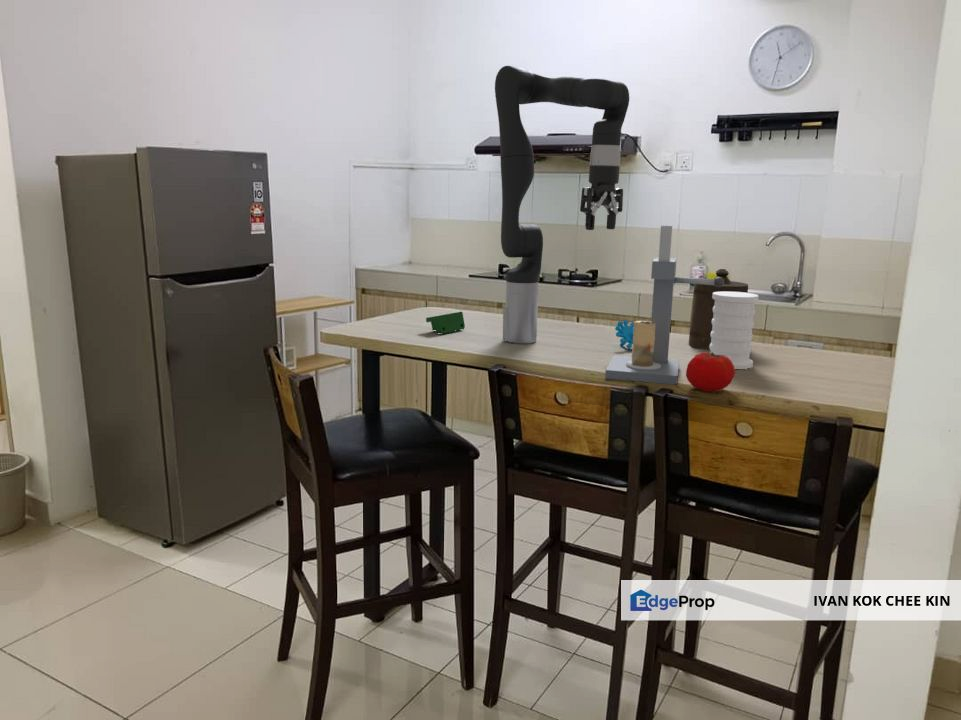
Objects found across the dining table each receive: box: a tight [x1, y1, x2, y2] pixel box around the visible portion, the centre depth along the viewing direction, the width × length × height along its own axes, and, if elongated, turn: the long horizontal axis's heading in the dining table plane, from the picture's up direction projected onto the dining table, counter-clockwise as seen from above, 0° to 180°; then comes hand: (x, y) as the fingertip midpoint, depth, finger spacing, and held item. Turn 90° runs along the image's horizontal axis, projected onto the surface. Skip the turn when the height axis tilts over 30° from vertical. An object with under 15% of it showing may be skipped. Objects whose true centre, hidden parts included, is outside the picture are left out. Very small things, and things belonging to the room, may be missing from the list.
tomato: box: [685, 350, 736, 393], centre depth 159 cm, size 9×10×8 cm
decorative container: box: [709, 291, 759, 370], centre depth 183 cm, size 12×12×18 cm
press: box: [604, 224, 724, 385], centre depth 169 cm, size 25×17×35 cm
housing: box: [631, 320, 656, 367], centre depth 171 cm, size 5×5×10 cm
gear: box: [614, 319, 635, 350], centre depth 204 cm, size 11×6×10 cm
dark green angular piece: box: [425, 311, 466, 334], centre depth 223 cm, size 12×6×9 cm, turn 136°
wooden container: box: [688, 268, 749, 351], centre depth 206 cm, size 15×15×22 cm
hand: (600, 229), depth 187 cm, fingers open, 8 cm apart
